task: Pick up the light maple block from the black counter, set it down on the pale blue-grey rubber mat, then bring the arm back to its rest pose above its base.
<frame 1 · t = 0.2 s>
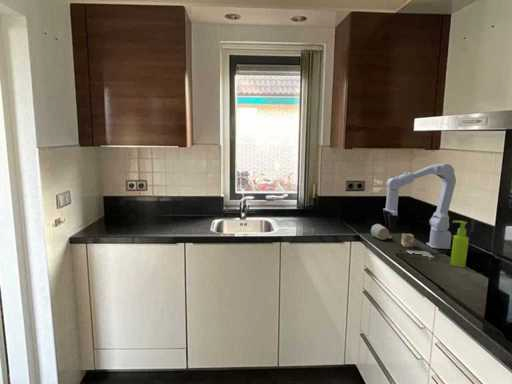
hand: (389, 226, 180), 10 cm above the worktop, tool pointing down, fingers open, 7 cm apart
soap dispenser: (456, 265, 153), on the worktop
blue-grey mat: (417, 254, 165), on the worktop
ceramic mug: (381, 238, 192), on the worktop
maple block: (406, 245, 180), on the worktop
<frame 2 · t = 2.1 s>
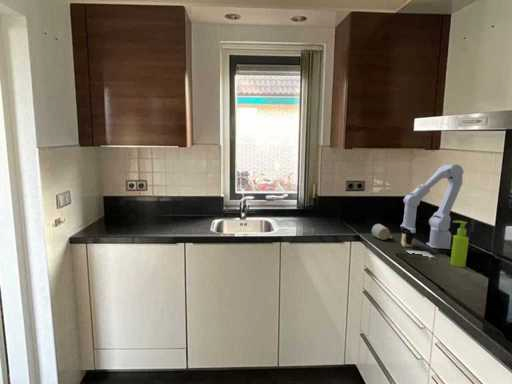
hand: (407, 242, 179), 2 cm above the worktop, tool pointing down, fingers closed on maple block, 4 cm apart
maple block: (406, 245, 179), on the worktop, touching gripper
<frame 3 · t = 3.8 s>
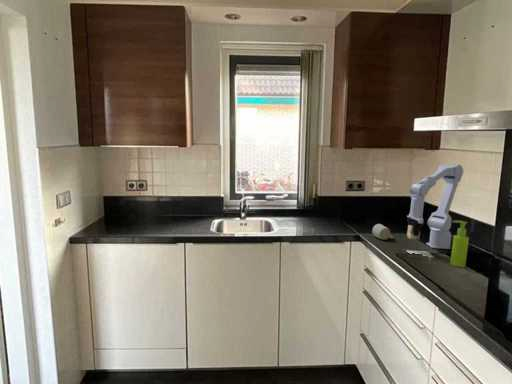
hand: (414, 234, 170), 8 cm above the worktop, tool pointing down, fingers closed on maple block, 4 cm apart
maple block: (413, 237, 170), point 7 cm above the worktop, touching gripper
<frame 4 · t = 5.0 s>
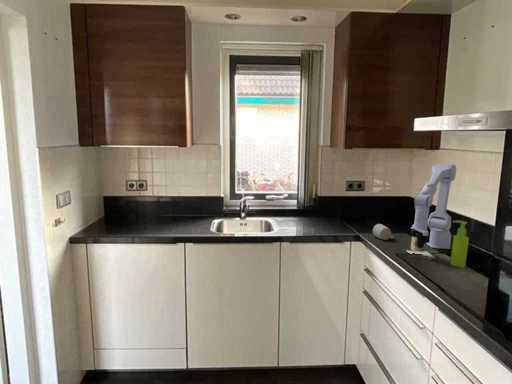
hand: (418, 246, 164), 4 cm above the worktop, tool pointing down, fingers closed on maple block, 4 cm apart
maple block: (417, 250, 164), point 2 cm above the worktop, touching gripper
when the fingers open (3 cm above the worktop, at t = 5.7 s): maple block drops 1 cm, resting on blue-grey mat.
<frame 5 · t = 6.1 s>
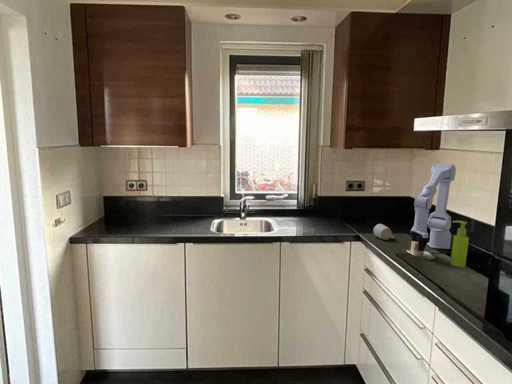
hand: (418, 248, 164), 3 cm above the worktop, tool pointing down, fingers open, 7 cm apart
maple block: (416, 254, 165), resting on blue-grey mat
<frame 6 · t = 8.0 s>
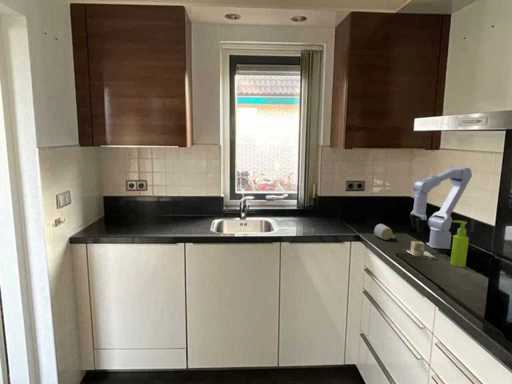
hand: (417, 230, 174), 9 cm above the worktop, tool pointing down, fingers open, 7 cm apart
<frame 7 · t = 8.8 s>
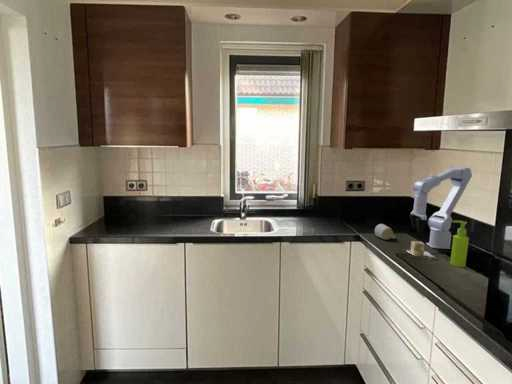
hand: (417, 230, 174), 9 cm above the worktop, tool pointing down, fingers open, 7 cm apart
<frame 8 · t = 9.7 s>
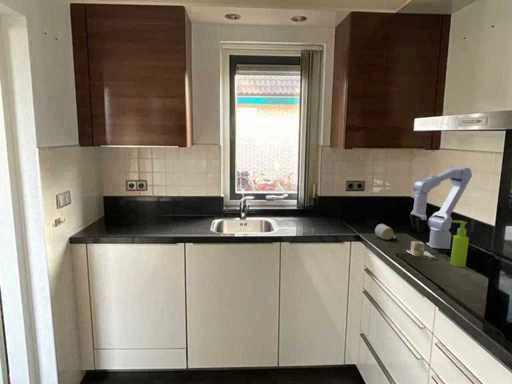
hand: (417, 230, 174), 9 cm above the worktop, tool pointing down, fingers open, 7 cm apart
at the end: maple block inside the target area on the blue-grey mat (0.3 cm from its centre), point 0.1 cm above the blue-grey mat's base; maple block tilted 0°; the gripper is holding nothing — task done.
